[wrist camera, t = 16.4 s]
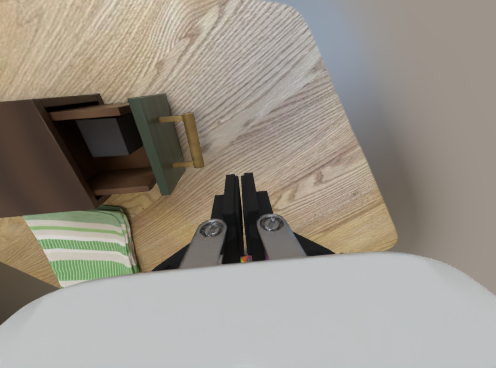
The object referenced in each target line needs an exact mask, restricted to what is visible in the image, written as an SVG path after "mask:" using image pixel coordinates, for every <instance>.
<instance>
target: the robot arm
mask: <svg viewBox="0 0 496 368" xmlns="http://www.w3.org/2000/svg"><path fill="white" fill-rule="evenodd" d="M241 183H242V202H243V216H244V226H245V235H246V245H247V254H248V255H252V261H253V262H243V263H241V256H244V240H243V219H242V206H241V197H240V188H239V179H238V176H235V174H230V175H226V181H225V190H224V195H215V198H214V204H213V209H212V214H211V219H210V220H207V221H205V222H203V223H202V224H200V225H199V227H198V228H197V230H196V232H195V234H194V236H193V239H192V241H191V243H189V244H188V245H186V246H185V247H184V248H182V249H181V250H179V251H178V252H176V253H175V254H174V255H172V256H171V257H169V258H168V259H166V260H165V261H164V262H162V263H161V264H159V265H158V266H157V267H155V268H154V269H153V270H152V271H151V272H143V273H134V274H126V275H119V276H112V277H105V278H98V279H93V280H89V281H84V282H81V283H77V284H74V285H70V286H67V287H64V288H62V289H59V290H57V291H54V292H52V293H49V294H47V295H45V296H42V297H41V298H38V299H36V300H35V301H33V302H31V303H29V304H27V305H26V306H24V307H23V308H21V309H20V310H18V311H17V312H16V313H15V314H13V315H12V316H11V317H10V318H8V319H7V320H6V321H5V322H4V323H3V324H2V325H1V326H0V368H496V296H495V295H494V294H493V293H491V292H490V291H489V290H487V289H486V288H485V287H483V286H482V285H481V284H479V283H478V282H476V281H475V280H474V279H472V278H471V277H469V276H468V275H466V274H465V273H463V272H461V271H460V270H458V269H456V268H454V267H452V266H450V265H448V264H446V263H444V262H441V261H437V260H435V259H431V258H427V257H424V256H418V255H414V254H408V253H400V252H381V251H375V252H356V253H340V254H335V253H334V252H332V251H331V250H329V249H327V248H325V247H323V246H321V245H319V244H317V243H315V242H313V241H311V240H309V239H306V238H304V237H302V236H300V235H298V234H296V233H294V232H292V230H291V228H290V227H289V225H288V223H287V222H286V220H285V219H284V218H283V217H282V216H280V215H277V214H273V211H272V208H271V204H270V201H269V197H268V193H267V191H259V192H256V188H255V183H254V178H253V173H244V176H241Z"/></svg>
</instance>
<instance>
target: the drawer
mask: <svg viewBox="0 0 496 368" xmlns="http://www.w3.org/2000/svg"><path fill="white" fill-rule="evenodd" d="M127 100H128V103H118V104H105V105H93V106H81V107H69V108H61V109H54V110H47V111H46V112H47V114H48V116H49V117H50V119H51V121H52V123H53V124H54V126H55V128H56V130H57V131H58V133H59V135H60V137H61V138H62V140H63V142H64V143H65V145H66V147H67V149H68V150H69V152H70V154H71V156H72V157H73V159H74V161H75V163H76V164H77V166H78V168H79V170H80V171H81V173H82V175H83V177H84V178H85V180H86V182H87V184H88V185H89V187H90V189H91V191H92V192H93V194H94V196H99V195H111V194H122V193H133V192H144V191H150V190H151V189H152V188H153V187H154V185H155V184H156V183H157V184H158V186H159V189H160V192H161V195H171V193H172V192H173V190H174V188H175V186H176V185H177V183H178V181H179V180H180V178H181V176H182V175H183V173H184V171H185V167H189V166H194V168H202V167H204V162H203V157H202V152H201V147H200V142H199V137H198V132H197V127H196V122H195V117H194V113H192V112H190V113H183V114H182V115H180V116H171V113H170V109H169V105H168V101H167V98H166V94H156V95H149V96H142V97H135V98H128V99H127ZM127 113H132V114H133V117H134V119H135V122H136V125H137V128H138V131H139V133H140V136H141V139H142V142H143V145H144V146H142V147H141V148H139V149H138V150H136V151H135V152H133V153H132V154H130V155H124V156H106V157H93V156H92V154H91V152H90V150H89V148H88V146H87V143H86V141H85V139H84V137H83V135H82V133H81V131H80V129H79V127H78V125H77V123H76V120H77V119H84V118H96V117H108V116H120V115H124V114H127ZM177 121H183V122H184V126H185V130H186V135H187V139H188V143H189V147H190V152H191V156H192V160H193V161H186V162H183V159H182V155H181V151H180V147H179V143H178V140H177V136H176V132H175V128H174V124H173V122H177Z"/></svg>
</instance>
